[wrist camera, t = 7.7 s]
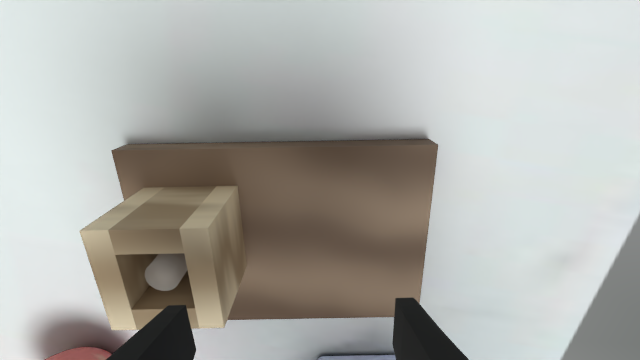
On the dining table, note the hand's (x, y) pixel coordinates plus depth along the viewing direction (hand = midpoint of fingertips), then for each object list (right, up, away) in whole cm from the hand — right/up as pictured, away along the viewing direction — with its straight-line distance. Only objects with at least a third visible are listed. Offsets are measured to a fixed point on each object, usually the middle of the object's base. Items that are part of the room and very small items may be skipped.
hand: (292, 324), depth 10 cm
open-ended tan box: (-6, +2, +8) cm, 10 cm away
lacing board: (-1, +2, +10) cm, 10 cm away
